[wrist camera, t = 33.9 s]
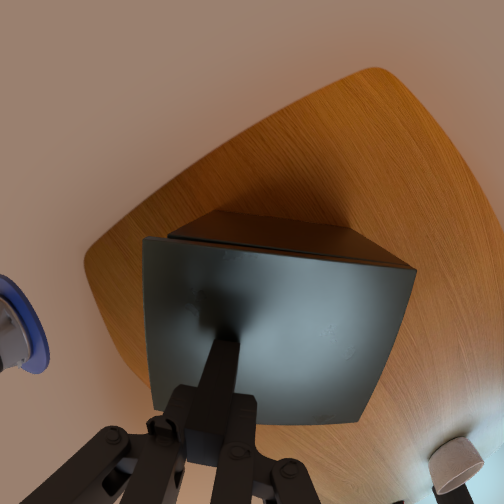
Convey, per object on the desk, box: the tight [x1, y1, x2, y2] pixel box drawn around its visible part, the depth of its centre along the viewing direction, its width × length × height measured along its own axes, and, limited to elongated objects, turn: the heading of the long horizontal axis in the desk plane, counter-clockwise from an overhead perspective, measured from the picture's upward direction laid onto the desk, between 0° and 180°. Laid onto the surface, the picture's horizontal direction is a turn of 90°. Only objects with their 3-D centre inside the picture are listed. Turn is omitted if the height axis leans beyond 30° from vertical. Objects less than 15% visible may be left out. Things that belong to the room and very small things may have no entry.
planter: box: [428, 437, 484, 495], centre depth 33 cm, size 12×12×11 cm
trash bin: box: [167, 210, 410, 266], centre depth 23 cm, size 15×13×14 cm
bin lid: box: [142, 236, 417, 425], centre depth 16 cm, size 15×13×1 cm
